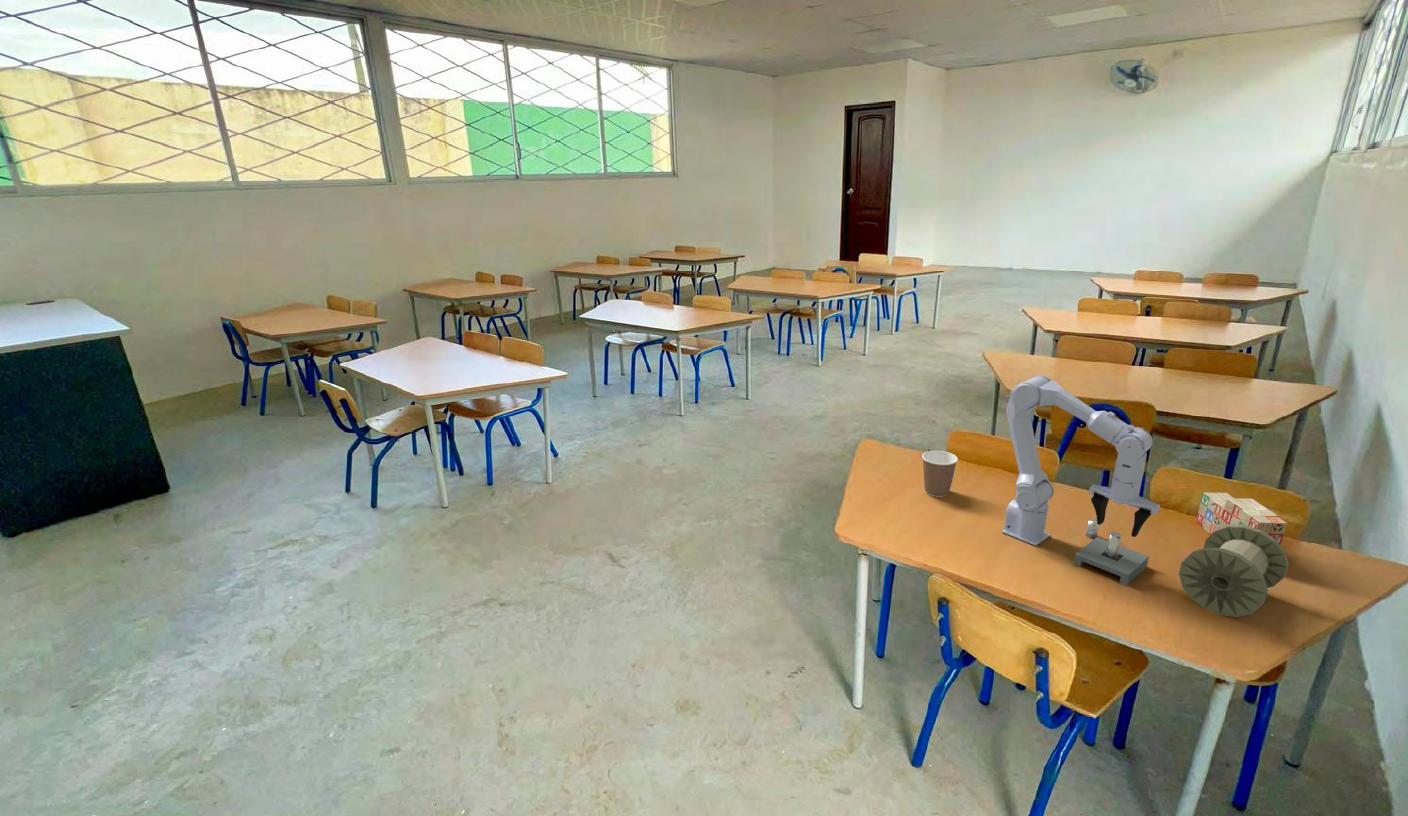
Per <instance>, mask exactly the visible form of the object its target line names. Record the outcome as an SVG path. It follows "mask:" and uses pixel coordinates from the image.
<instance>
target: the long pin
mask: <svg viewBox="0 0 1408 816" xmlns="http://www.w3.org/2000/svg"><path fill="white" fill-rule="evenodd" d="M1122 538H1123V534H1122V533H1120V532H1117V531H1110V532H1109V534H1108V540H1107V541H1108V544H1107V549H1106V554H1105V555H1104V556H1105V557H1107V558H1110V559H1113V560H1115V561H1118V559H1119V558H1118V553H1119V548H1120V546H1121V544H1122V543H1121V542H1122Z"/></svg>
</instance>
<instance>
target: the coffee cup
mask: <svg viewBox="0 0 1408 816" xmlns="http://www.w3.org/2000/svg"><path fill="white" fill-rule="evenodd" d="M921 457H922V461H923V462H922V465H923V485H924V492H925V491H926V492H927V493H928V494H929V495H928V494H927V493H926V492H925V493H926V494H927V495H928V496H930V495H932V496H931V497H934V496H936V497H935V498H944V497H943V496H945V497H946V495H947V496H948V495H949V493H950V490H951V486H952V483H953V479H954V474H955V469H956V464H957V462H958V461H959V458H958V457H957V455H955V454H953V453H951V452H948V451H943V450H928V451H924V453H922V456H921Z"/></svg>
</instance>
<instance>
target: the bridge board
mask: <svg viewBox="0 0 1408 816" xmlns="http://www.w3.org/2000/svg"><path fill="white" fill-rule="evenodd" d="M1107 544H1108V540H1105V539H1103V538H1101V537H1098V536H1097V537H1096V538H1095V539H1093V540H1091V541H1090V542H1089V543H1087V544H1086V545H1085V546H1084V547H1083V548H1081V549H1080V550H1079V551H1077V552H1076V553H1075V555H1074V560H1073V565H1074V564H1075V566H1078V567H1082V566H1083V565H1085V564H1089V565H1091V566H1093V567H1096V568H1099V569H1101V570H1103V571H1106V572H1109V573H1111V574H1114V575H1116V576H1119V577H1120V578H1119V584H1121V585H1123V586H1125V587H1126V586H1128V585H1129V584H1130V583H1131V582H1132V581H1134V580H1135V578H1136V577H1137V576H1139V575H1140V574H1141V573H1142V572H1143V571H1144V570H1145V569H1146V568H1147V567H1148V563H1149V562H1148V561H1149V558H1150V556H1148V555H1146V554H1145V553H1141V552H1138V551H1136V550H1133V549H1130V548H1127V547H1125V546H1122V545H1120V548H1119V553H1118V558H1117V561H1115V560H1113V559H1110V558H1107V557H1105V554H1106V549H1107Z"/></svg>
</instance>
